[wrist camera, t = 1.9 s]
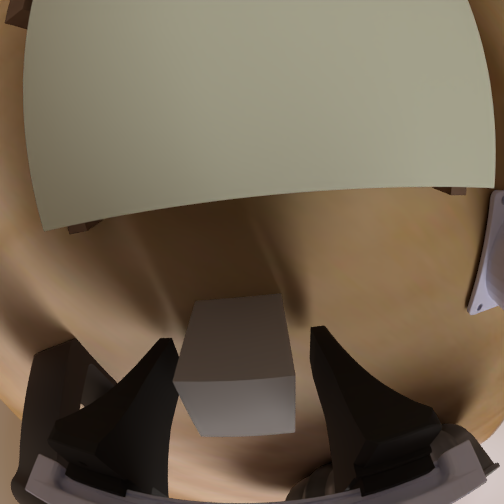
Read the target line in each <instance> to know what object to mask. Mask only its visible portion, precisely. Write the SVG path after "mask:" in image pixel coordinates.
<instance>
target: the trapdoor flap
mask: <svg viewBox="0 0 504 504" xmlns="http://www.w3.org/2000/svg"><path fill="white" fill-rule="evenodd" d="M23 110H24V127H25V138H26V147H27V155H28V162H29V168H30V174H31V179H32V185H33V190H34V194H35V199H36V203H37V207H38V212H39V215H40V219H41V223H42V227H43V230H44V231H48V230H53V229H57V228H62V227H66V226H71V225H76V224H80V223H85V222H90V221H95V220H100V219H105V218H111V217H116V216H121V215H127V214H133V213H138V212H144V211H150V210H157V209H163V208H169V207H176V206H183V205H190V204H197V203H205V202H212V201H220V200H228V199H237V198H246V197H255V196H265V195H275V194H286V193H298V192H311V191H325V190H341V189H360V188H385V187H479V188H494V184H495V158H496V147H495V122H494V110H493V100H492V92H491V86H490V79H489V74H488V68H487V63H486V59H485V54H484V50H483V46H482V42H481V39H480V35H479V32H478V28H477V25H476V22H475V19H474V16H473V13H472V10H471V7H470V5H469V2H468V0H33V2H32V6H31V11H30V17H29V22H28V29H27V36H26V44H25V55H24V71H23Z"/></svg>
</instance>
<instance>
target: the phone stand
mask: <svg viewBox="0 0 504 504" xmlns="http://www.w3.org/2000/svg"><path fill="white" fill-rule="evenodd" d="M115 385H116V381H115V380H114V379H113V378H112V377H111V376H110V375H109V374H108V373H107V372H106V371H105V370H104V369H103V368H102V367H101V366H100V365H99V364H98V363H97V361H96V360H95V359H94V358H93V357H92V356H91V355H90V354H89V353H88V351H87V350H86V349H85V348H84V347H83V346H82V345H81V343H80V342H79V341H78V340H77V339H73V340H70V341H68V342H65V343H63V344H60V345H58V346H55V347H53V348H50V349H48V350H45V351H43V352H40V353H38V354H35V355H34V358H33V363H32V367H31V371H30V376H29V381H28V386H27V391H26V397H25V403H24V410H23V418H22V427H21V440H20V459H19V467H18V470H17V472H16V474H15V476H14V477H13V479H12V482H11V490H12V493H13V495H14V497H15V499H16V500H17V501H18V502H19V503H20V504H48V503H46V502H44V501H42V500H41V499H39V498H37V497H36V496H34V495H32V494H31V493H29V492H28V491H26V490H25V487H26V485H27V482H28V479H29V477H30V474H31V472H32V469H33V466H34V464H35V462H36V459H37V457H38V454H41V455H43V456H45V457H48V458H50V459H52V460H54V461H56V462H58V463H59V464H61V465H62V466H63V467H64V468H65V469H67V466H68V464H69V462H68V461H66V460H65V459H64V458H63V457H61V456H60V455H59V454H58V453H57V452H56V451H54V450H53V449H52V448H51V447H50V445H49V444H48V442H47V438H48V436H49V434H50V432H51V430H52V428H53V426H54V423H55V421H56V420H58V419H61V418H63V417H66V416H68V415H70V414H73V413H75V412H77V411H79V410H80V404H83V405H84V406H85V407H86V406H87V405H89V404H91V403H92V402H94V401H95V400H97V399H98V398H100V397H101V396H103V395H104V394H105V393H107V392H108V391H109V390H110V389H112V388H113V387H114V386H115Z"/></svg>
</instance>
